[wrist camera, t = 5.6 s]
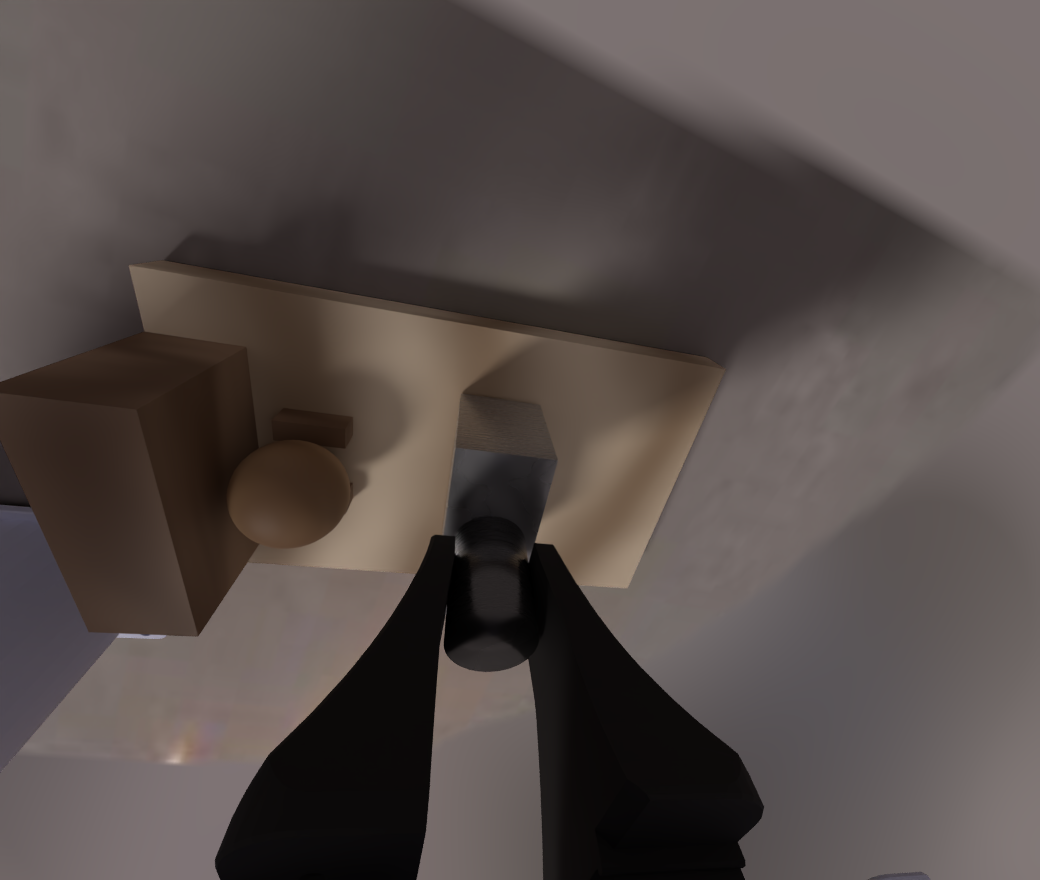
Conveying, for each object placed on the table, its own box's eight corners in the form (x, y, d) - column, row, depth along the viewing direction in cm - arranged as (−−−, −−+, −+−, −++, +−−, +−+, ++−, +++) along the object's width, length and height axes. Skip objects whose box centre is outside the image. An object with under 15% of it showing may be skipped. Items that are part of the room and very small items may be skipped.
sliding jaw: (441, 537, 18) (420, 718, 12) (460, 393, 15) (446, 532, 8) (507, 542, 19) (522, 719, 12) (540, 404, 15) (585, 544, 9)
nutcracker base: (217, 535, 19) (107, 671, 13) (162, 260, 13) (-67, 293, 8) (618, 566, 22) (666, 685, 17) (706, 357, 17) (822, 429, 11)
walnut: (264, 498, 16) (211, 568, 13) (254, 415, 14) (189, 472, 11) (361, 507, 16) (333, 576, 13) (362, 428, 15) (330, 486, 12)
